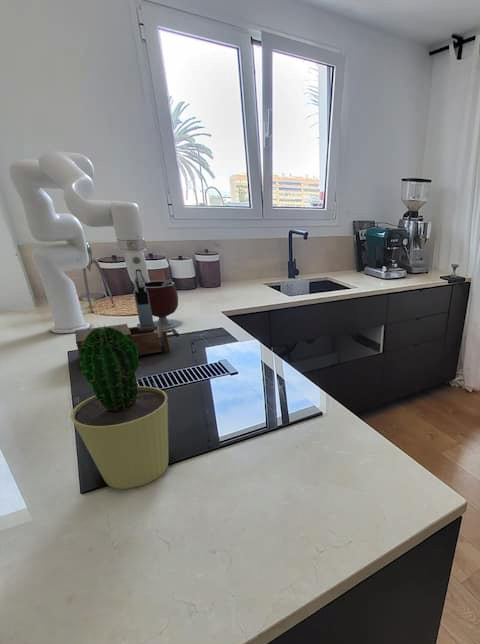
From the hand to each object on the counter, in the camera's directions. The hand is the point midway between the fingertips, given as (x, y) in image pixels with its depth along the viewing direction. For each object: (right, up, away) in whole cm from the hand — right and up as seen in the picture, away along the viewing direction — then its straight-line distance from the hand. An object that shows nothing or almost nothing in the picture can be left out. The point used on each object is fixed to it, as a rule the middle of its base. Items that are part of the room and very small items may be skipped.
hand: (142, 302), depth 129 cm
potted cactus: (+28, -42, -51) cm, 72 cm away
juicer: (-51, +6, +54) cm, 75 cm away
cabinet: (-11, -18, 0) cm, 21 cm away
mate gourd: (-9, -4, +33) cm, 35 cm away
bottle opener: (0, -8, +4) cm, 9 cm away
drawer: (0, -15, +6) cm, 16 cm away
